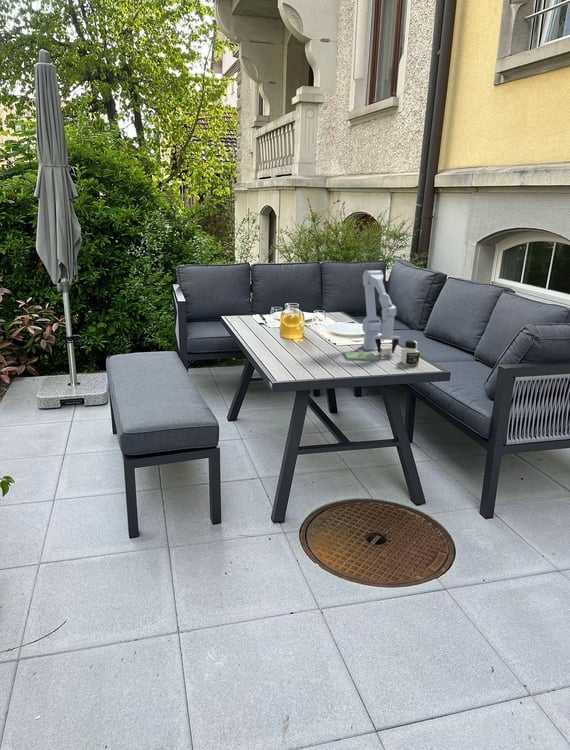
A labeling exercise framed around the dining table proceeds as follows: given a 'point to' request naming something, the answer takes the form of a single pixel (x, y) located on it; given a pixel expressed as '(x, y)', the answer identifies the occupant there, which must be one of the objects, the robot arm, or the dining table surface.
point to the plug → (385, 351)
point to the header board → (360, 355)
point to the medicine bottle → (410, 353)
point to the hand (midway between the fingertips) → (385, 352)
